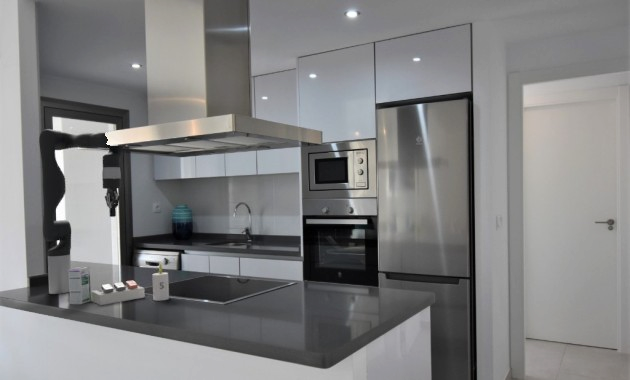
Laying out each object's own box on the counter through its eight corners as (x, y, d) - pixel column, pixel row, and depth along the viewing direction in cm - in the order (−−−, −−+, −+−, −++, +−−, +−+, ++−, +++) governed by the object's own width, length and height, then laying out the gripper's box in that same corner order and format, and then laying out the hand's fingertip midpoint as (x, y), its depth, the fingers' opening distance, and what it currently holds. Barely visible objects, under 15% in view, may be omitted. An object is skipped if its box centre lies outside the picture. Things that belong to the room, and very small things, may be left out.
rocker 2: (113, 286, 200) (113, 283, 200) (121, 285, 203) (121, 281, 202) (117, 290, 197) (118, 287, 197) (125, 289, 199) (125, 286, 199)
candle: (154, 301, 194) (153, 264, 194) (152, 298, 200) (151, 262, 200) (170, 299, 197) (168, 263, 197) (167, 296, 203) (166, 261, 203)
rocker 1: (101, 288, 197) (101, 285, 197) (109, 287, 199) (109, 283, 199) (105, 293, 194) (105, 289, 193) (113, 291, 196) (113, 288, 195)
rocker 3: (125, 284, 204) (125, 281, 203) (133, 283, 206) (133, 280, 206) (129, 289, 200) (130, 285, 200) (137, 287, 202) (137, 284, 202)
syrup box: (82, 304, 193) (80, 268, 193) (69, 304, 195) (68, 268, 195) (91, 301, 199) (90, 266, 199) (78, 301, 200) (77, 266, 200)
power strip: (91, 300, 200) (90, 289, 200) (147, 291, 216) (146, 280, 216) (100, 305, 191) (100, 293, 191) (158, 294, 207) (157, 284, 207)
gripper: (98, 178, 214) (99, 216, 214) (107, 177, 204) (109, 217, 204) (115, 178, 219) (116, 215, 219) (125, 177, 209) (126, 216, 209)
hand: (112, 216), depth 211 cm, fingers closed
